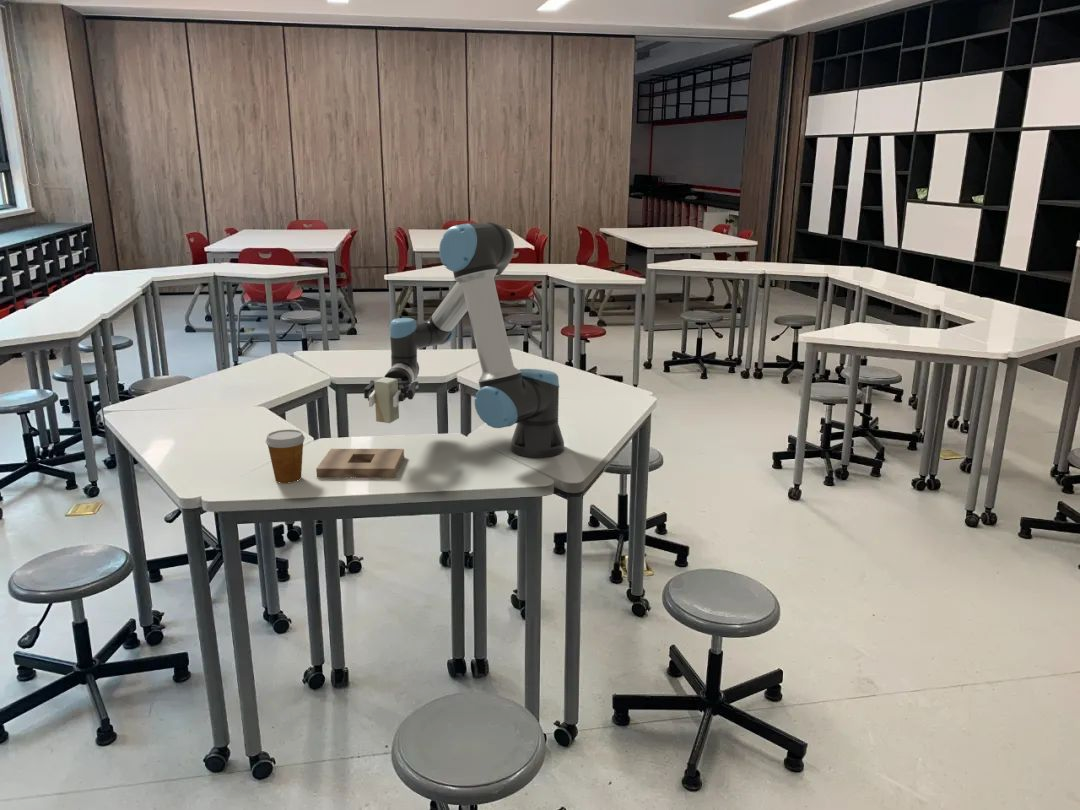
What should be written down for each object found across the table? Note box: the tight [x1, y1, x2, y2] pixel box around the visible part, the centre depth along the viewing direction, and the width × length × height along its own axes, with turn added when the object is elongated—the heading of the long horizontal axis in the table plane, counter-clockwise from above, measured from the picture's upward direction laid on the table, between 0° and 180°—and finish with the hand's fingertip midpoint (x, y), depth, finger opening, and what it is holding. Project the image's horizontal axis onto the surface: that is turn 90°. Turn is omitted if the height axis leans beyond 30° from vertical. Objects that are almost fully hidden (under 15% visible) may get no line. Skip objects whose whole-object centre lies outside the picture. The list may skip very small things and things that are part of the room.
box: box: [374, 377, 400, 424], centre depth 214 cm, size 5×4×11 cm
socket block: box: [316, 448, 405, 479], centre depth 216 cm, size 20×16×2 cm
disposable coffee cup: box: [264, 428, 306, 484], centre depth 206 cm, size 10×10×12 cm
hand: (382, 401), depth 209 cm, fingers closed on box, 5 cm apart
